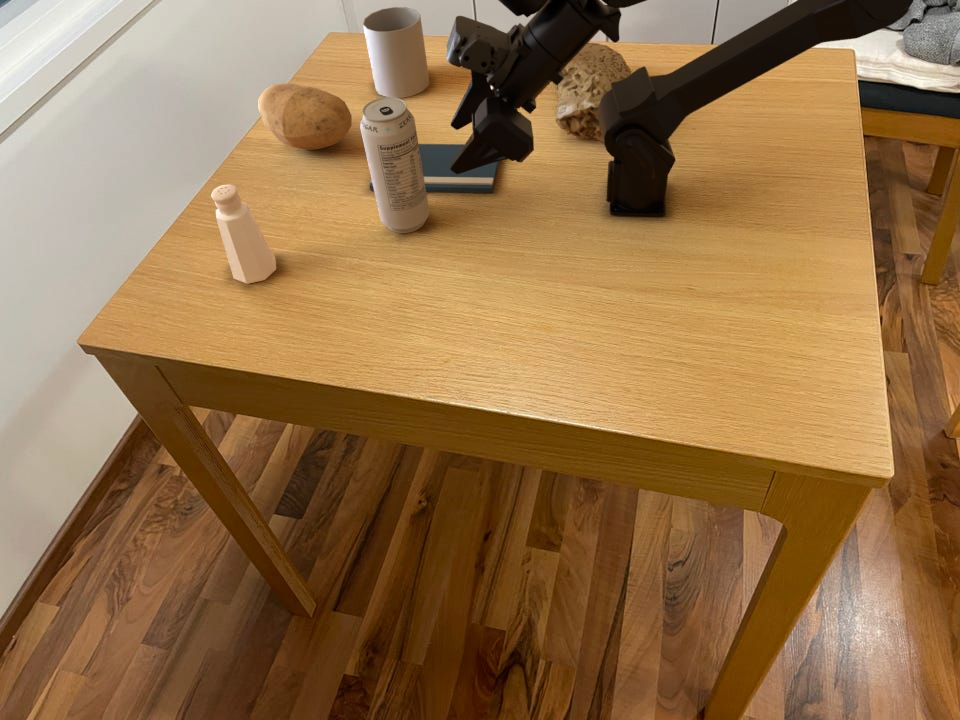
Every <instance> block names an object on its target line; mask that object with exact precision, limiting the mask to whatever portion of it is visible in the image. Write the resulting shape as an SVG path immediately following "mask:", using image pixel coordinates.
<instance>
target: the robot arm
mask: <svg viewBox="0 0 960 720" xmlns="http://www.w3.org/2000/svg"><path fill="white" fill-rule="evenodd" d="M497 1H498V2H499V3H501V4H502V5H503V6H504V7H505V8H506V9H508V10H509V11H510V12H511V13H512V14H514V16H516V17H521V16H525V18H529V17H530V16H532V15H533V17H532V18H531V19H530V20H528V22H527V23H526V25H525V26H524V25H523V24H522V23H521V22H519V23H518V24H514V25H513V26H512V27H511V28H510V29H509V31H507V32H505V31H502V30H500V29H498V28H496V27H494V26H492V25H489V24H487V23H483V22H481V21H478V20H476V19H473V18H469V17H468V16H467V17H466V16H465V15H457V16H456V17H455V19H454V22H453V25H452V28H451V30H450V33H449V37H448V40H447V43H446V61H447V63H449V64H450V65H452V66H455V67H457V68H463V69H466V70H469V71H470V75H471V77H470V81H469V83H468V86H467V88H466V91H465V93H464V94H463V97H462V98H461V101H460V103H459V104H458V107H457V109H456V111H455V113H454V115H453V117H452V119H451V121H450V126H451V128H452V129H454V130H455V131H459V130H460V129H463V128H464V127H466V126H468V125H469V124H471V127H472V133H471V135H470V136H469V137H468V139H467V140H466V142H465V143H464V144H465V145H464V146H463V148H462V149H461V151H460V152H459V154H458V155H457V157H456V158H455V160H454V162H453V163H452V165H451V167H450V170H451V171H453V172H454V173H456V174H460V173H463V172H466V171H469V170H472V169H475V168H478V167H481V166H484V165H487V164H491V163H494V162H498V161H500V162H502V161H506V160H509V161H511V162H517V163H523V162H524V161H525V160H526V159H527V158H528V157H529V155H531V154H532V153H533V152H534V151H535V144H534V143H535V142H534V133H533V124H532V121H531V120H530V119H529V118H528V117H526V116H525V115H524V114H523V113H521V112H519V109H520V108H522V109H523V110H524V111H525V112H527V113H528V114H529V115H531V114H532V113H533V112H534V111H535V110H536V109H537V101H536V99H537V98H538V97H539V96H540V94H542V92H543V91H544V90H545V89H546V88H547V87H548V86H549V84H551V83H553V85H554V84H556V85H558V84H559V83H560V82H561V81H562V80H563V79H564V77H563V72H562V70H563V69H564V68H565V67H566V65H567V64H568V63H569V62H570V61H571V60H572V59H573V58H574V57H575V56H576V55H577V54H578V53H579V52H580V51H581V50H582V48H583V47H584V46H585V45H586V44H587V43H590V41H591V40H592V39H593V38H594V37H595V36H596V35H597V34H598V33H599V32H602V33H603V34H604V36H606V37H607V38H608V39H609V40H610V41H611V42H612V43H618V42H619V41H620V22H621V18H622V12H621V11H622V10H620V9H625V8H630V7H632V6H635V5H638V4H641V3H643V2H647V1H648V0H497ZM914 1H915V0H795V1H793V2H792V3H790V4H788V5H787V6H785V7H783V8H781V9H780V10H778V11H776V12H774V13H773V14H771V15H770V16H768V17H766V18H764V19H762V20H760V21H759V22H757V23H755V24H753V25H752V26H750V27H749V28H746V29H745V30H743V31H741V32H739V33H738V34H736V35H734V36H732V37H731V38H729V39H728V40H726V41H724V42H722V43H721V44H718V45H717V46H716V47H713V48H712V49H710V50H708V51H706V52H705V53H703V54H701V55H699V56H698V57H696V58H694V59H692V60H691V61H689V62H688V63H686V64H684V65H682V66H680V67H679V68H677V69H675V70H673V71H671V72H669V73H666V74H659V75H649V72H648V69H647V67H646V65H645V66H641V67H639V68H637V69H635V70H634V71H633V72H631V75H629V76H628V77H627V78H625V79H623V80H620V81H617V82H612V83H611V87H612V89H611V90H609V91H608V92H607V93H606V94H604V96H603V97H602V98H601V101H600V104H599V107H598V109H597V117H598V121H599V125H600V129H601V133H602V137H603V141H604V142H603V145H604V147H605V149H606V152H607V153H608V154H609V155H610V156H611V157H612V158H613V160H609V161H608V163H607V183H606V199H605V200H606V202H607V203H609V214H610V216H616V217H617V216H620V217H622V216H623V217H657V218H658V217H661V218H662V217H665V216H666V214H667V213H666V212H667V207H666V205H667V203H666V200H667V199H666V197H667V196H666V195H667V187H668V179H669V174H670V172H671V170H672V169H673V166H674V165H675V164H676V160H677V159H676V157H675V154H674V151H673V148H672V145H671V142H670V138H671V137H672V135H673V134H674V133H675V131H676V130H677V129H678V128H679V126H680V125H681V124H682V123H683V121H684V120H685V119H686V118H688V117H689V116H690V115H691V114H693V113H695V112H696V111H699V110H700V109H703V108H704V107H706V106H707V105H709V104H711V103H713V102H714V101H715V102H716V101H717V100H719V99H720V98H722V97H724V96H726V95H728V94H729V93H731V92H733V91H736V89H739V88H740V87H743V86H744V85H746V84H748V83H749V82H751V81H753V80H755V79H757V78H759V77H761V76H762V75H764V74H766V73H768V72H770V71H772V70H773V69H775V68H777V67H779V66H781V65H783V64H785V63H786V62H788V61H791V60H792V59H794V58H795V57H797V56H799V55H801V54H803V53H805V52H807V51H809V50H810V49H812V48H814V47H815V46H818V45H820V44H823V43H831V42H839V41H847V40H855V39H859V38H862V37H864V36H867V35H870V34H872V33H875V32H877V31H880V30H883V29H886V28H888V27H890V26H892V25H895V24H896V23H897V22H898V21H900V20H902V19H903V18H904V17H906V15H907V14H908V13H909V11H910V8H911V6H912V4H913V2H914Z"/></svg>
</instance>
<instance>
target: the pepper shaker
mask: <svg viewBox="0 0 960 720" xmlns="http://www.w3.org/2000/svg"><path fill="white" fill-rule="evenodd" d="M210 197H211V199H212V200H213V201H214V204H215V207H216V208H217V209H215V218H216V219H215V220H216V223H217V226H218V230H219V233H220V237H221V240H222V244H223V248H224V251H225V254H226V257H227V261H228V264H229V269H230V272H231V274H232V277H233V279H234V280H236V281H238V282H242V283H244V284H246V285H250V284H253V283H258V282H262V281H266V280H267V279H268V278H269V277H270V276H271V275H272V274H273V273H274V272H275V271H276V270H277V261H276V260H277V259H276V256H275V255H274V253H273V251H272V249H271V247H270V245H269V243H268V241H267V239H266V237H265V235H264V233H263V231H262V230H261V227H260V226H259V223H258V222H257V220H256V217H255V215H254V214H253V212H252V210H251V208H250V207H249V205H248V203H246V202H243V201H242V200H241V199H242V198H241V196H240V194H239V190H238V187H237V186H235V185H234V184H221V185H219V186H217V187H215V188H214V189H213V190H212V192H211V195H210Z"/></svg>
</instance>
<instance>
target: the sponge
mask: <svg viewBox="0 0 960 720" xmlns="http://www.w3.org/2000/svg"><path fill="white" fill-rule="evenodd" d="M562 72H563V77H564V79H563V80H562V81H561V82H560V83H559V84H558V85H556V84H554V83H553V85H554V87H555V89H556V94H557V97H558V99H559V101H558V102H557V107H556V112H555V120H554V121H555V123H556V124H557V126H558V128H559V129H561V130H563V133H564V134H565V135H568V136H570V135H572V136H573V137H577V138H587V139H589V138H591V136H592V138H593V139H597V141H599V142H601V143H604V141H603V137H602V133H601V129H600V125H599V121H598V117H597V109H598V107H599V104H600V101H601V98H602V97H603V96H604V94H606V93H607V92H608V91H609V90H611V89H612V87H611V83H612V82H617V81H620V80H623V79H625V78H627V77H628V76H629V75H631V74H632V70H631V68H630V66H629V65H628V64H627V62H626V61H625V59H624V57H623V55H622V53H619V52H618V51H616V50H615V49H613V48H611V47H610V46H608V45H606V44H600V43H597V42H588V43H587V44H586V45H585V46H584V47H583V48H582V50H581V51H580V52H579V53H578V54H577V55H576V56H575V57H574V58H573V59H572V60H571V61H570V62H569V63H568V64H567V65H566V67H565V68H564V69H563V70H562Z"/></svg>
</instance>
